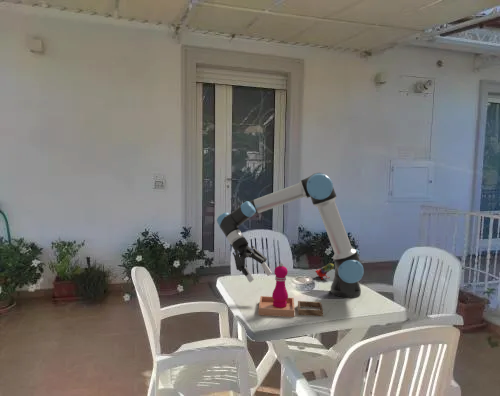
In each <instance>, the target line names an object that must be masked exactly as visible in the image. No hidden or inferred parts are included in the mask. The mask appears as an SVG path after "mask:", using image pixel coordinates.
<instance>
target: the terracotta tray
mask: <svg viewBox="0 0 500 396" xmlns="http://www.w3.org/2000/svg"><path fill="white" fill-rule="evenodd" d="M273 301H274V299H273V298H272V296H270V295H269V296H268V295H266V296H265V295H260V299H259V303H258V312H257V315H258V316H268V317H269V316H270V317H284V318H285V317H286V318H287V317H288V318H295V297H288V299H287V300H286V302H287V306H286V307H284V308H278V307H275V306H273Z"/></svg>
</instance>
